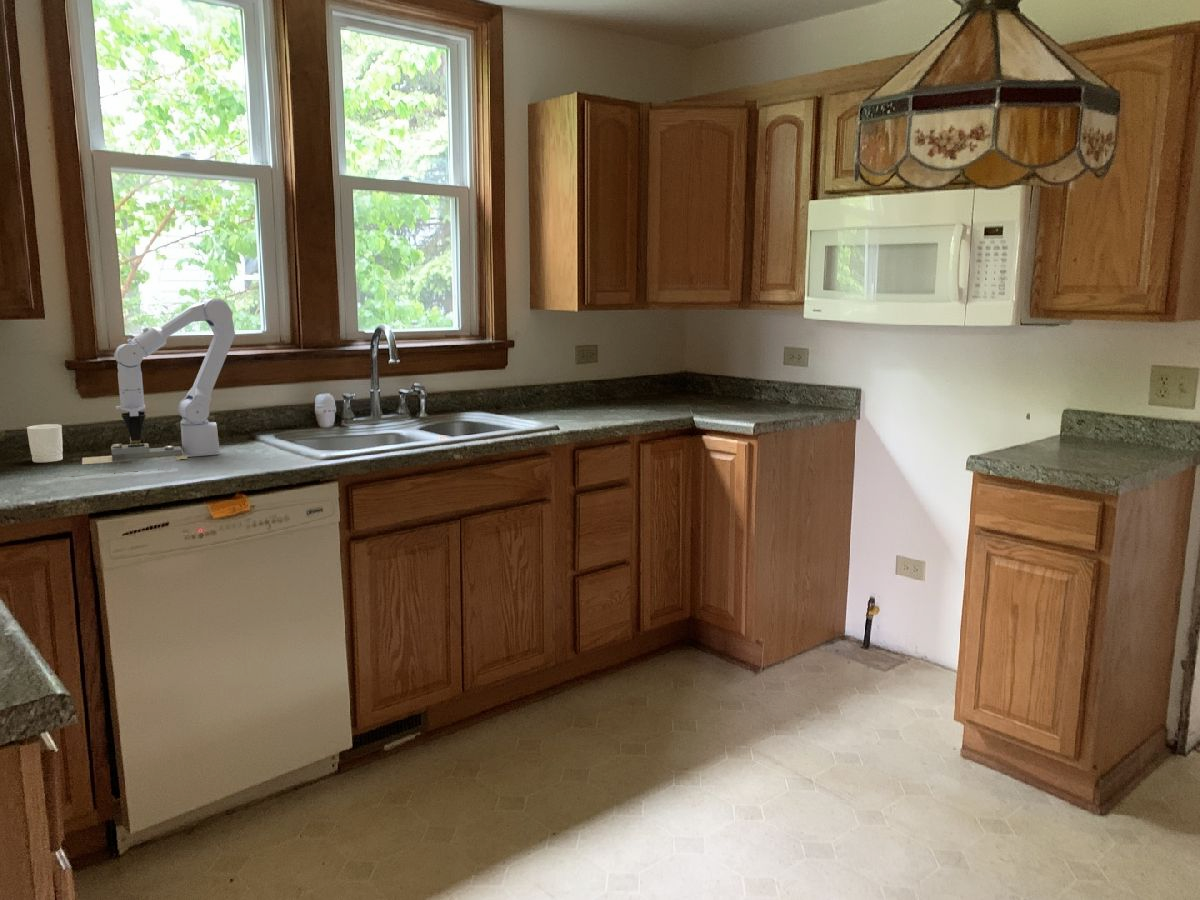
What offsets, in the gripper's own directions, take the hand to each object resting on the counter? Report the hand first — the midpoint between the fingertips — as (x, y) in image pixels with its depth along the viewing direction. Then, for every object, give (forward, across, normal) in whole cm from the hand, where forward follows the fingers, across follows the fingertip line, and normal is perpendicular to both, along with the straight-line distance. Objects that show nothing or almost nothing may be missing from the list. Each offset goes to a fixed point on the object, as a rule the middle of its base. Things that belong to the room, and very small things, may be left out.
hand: (135, 439), depth 244 cm
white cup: (+6, -6, -21) cm, 23 cm away
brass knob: (+1, 0, 0) cm, 1 cm away
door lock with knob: (+6, 0, 0) cm, 6 cm away
